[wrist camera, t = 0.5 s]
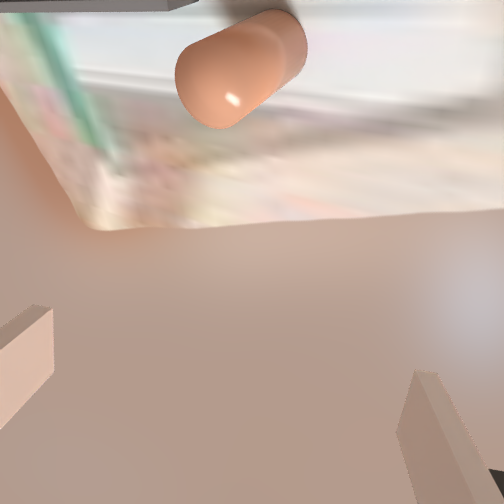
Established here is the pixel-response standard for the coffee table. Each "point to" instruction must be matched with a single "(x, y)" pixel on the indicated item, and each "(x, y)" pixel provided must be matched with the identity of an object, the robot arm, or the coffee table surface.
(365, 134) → the coffee table surface
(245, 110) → the orange rounded cylinder
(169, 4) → the bin
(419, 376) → the robot arm
